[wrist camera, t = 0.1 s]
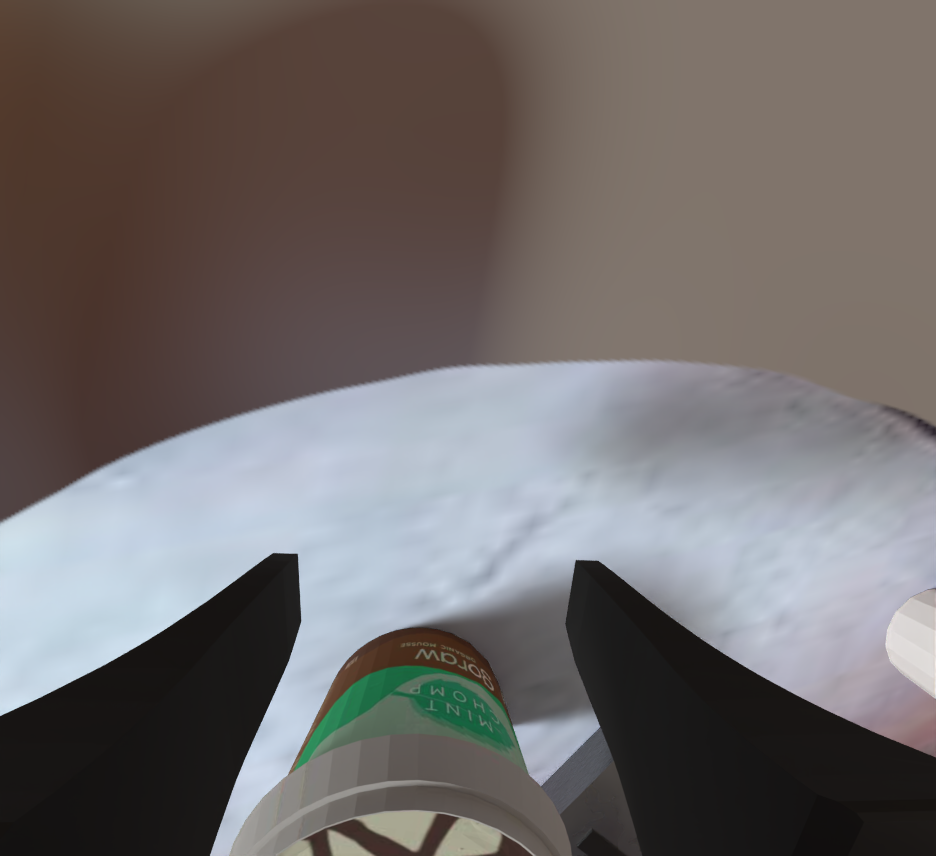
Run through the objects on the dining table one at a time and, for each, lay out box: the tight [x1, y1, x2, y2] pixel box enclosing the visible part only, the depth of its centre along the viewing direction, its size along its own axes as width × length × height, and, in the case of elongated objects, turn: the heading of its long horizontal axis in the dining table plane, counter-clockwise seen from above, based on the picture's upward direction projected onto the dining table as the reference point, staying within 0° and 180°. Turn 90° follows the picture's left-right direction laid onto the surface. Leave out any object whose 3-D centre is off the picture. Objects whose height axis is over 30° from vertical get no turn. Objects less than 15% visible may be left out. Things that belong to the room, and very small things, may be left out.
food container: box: [229, 628, 572, 856], centre depth 18 cm, size 12×6×10 cm, turn 75°
